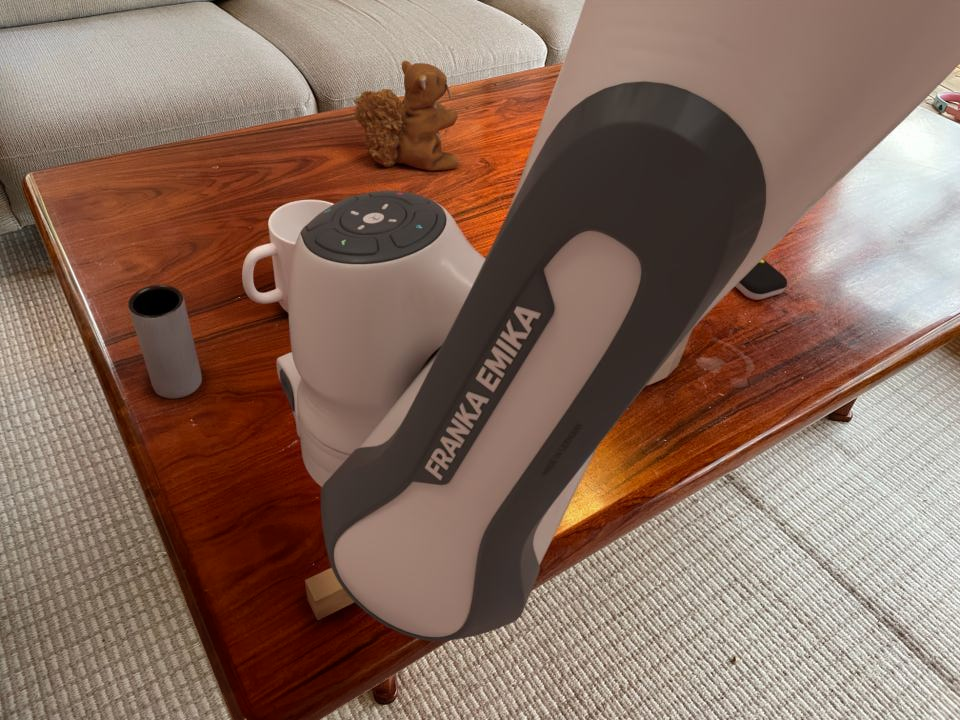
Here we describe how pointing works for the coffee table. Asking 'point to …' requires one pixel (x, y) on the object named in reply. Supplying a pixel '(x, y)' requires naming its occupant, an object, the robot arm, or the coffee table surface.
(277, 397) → the coffee table surface
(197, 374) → the grey hollow cylinder
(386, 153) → the stuffed squirrel
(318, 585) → the tan wooden bar
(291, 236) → the cup
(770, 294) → the remote control
